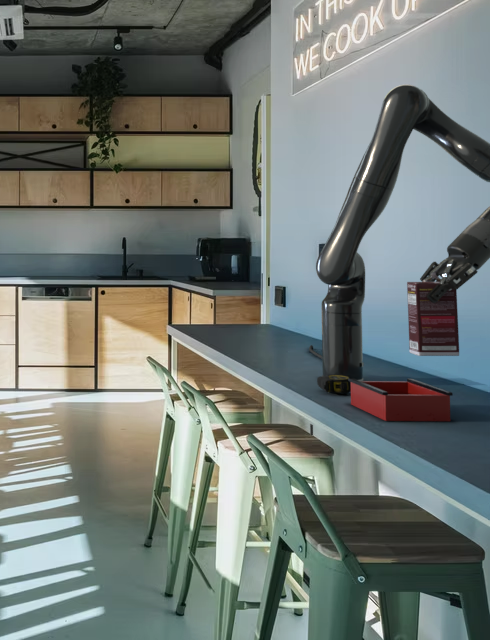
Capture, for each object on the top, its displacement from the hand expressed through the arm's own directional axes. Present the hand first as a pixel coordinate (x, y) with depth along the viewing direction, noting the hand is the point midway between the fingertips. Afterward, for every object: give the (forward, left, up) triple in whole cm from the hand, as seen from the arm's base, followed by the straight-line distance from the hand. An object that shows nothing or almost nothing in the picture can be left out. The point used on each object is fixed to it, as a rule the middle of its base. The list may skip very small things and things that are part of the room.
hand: (423, 298), depth 160 cm
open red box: (+10, -11, -23) cm, 27 cm away
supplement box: (0, +2, -12) cm, 12 cm away
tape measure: (-9, -16, -23) cm, 29 cm away
